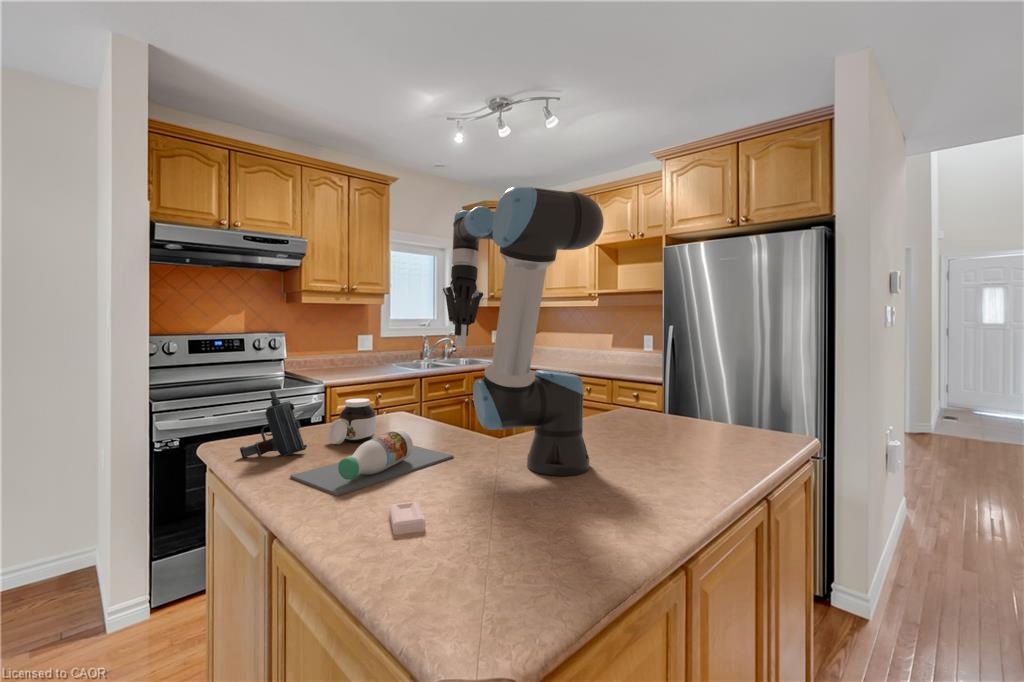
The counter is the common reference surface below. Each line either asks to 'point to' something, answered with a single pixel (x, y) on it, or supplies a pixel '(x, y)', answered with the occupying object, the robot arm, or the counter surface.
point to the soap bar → (407, 518)
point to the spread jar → (353, 423)
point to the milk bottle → (377, 454)
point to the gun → (278, 431)
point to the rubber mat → (337, 485)
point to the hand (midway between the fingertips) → (460, 347)
